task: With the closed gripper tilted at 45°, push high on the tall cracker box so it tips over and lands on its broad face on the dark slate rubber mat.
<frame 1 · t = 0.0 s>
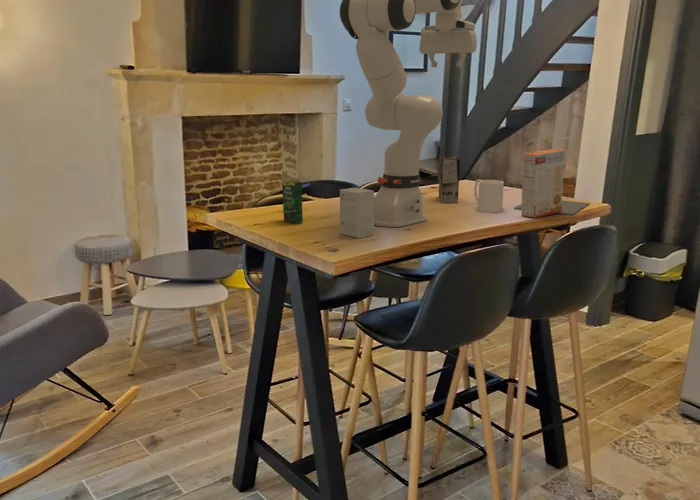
hand: (446, 67, 214), 48 cm above the table, tool pointing down, fingers open, 8 cm apart
coffee box: (448, 201, 232), on the table
coffee box 2: (292, 222, 195), on the table
cracker box: (541, 214, 206), on the table, touching slate mat
small box: (356, 235, 179), on the table
cup: (485, 210, 216), on the table
slate mat: (552, 206, 221), on the table
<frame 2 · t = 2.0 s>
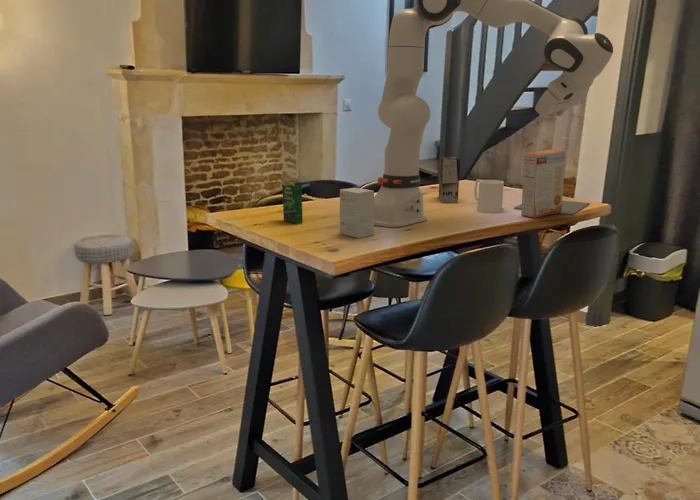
hand: (548, 117, 197), 32 cm above the table, tool tilted 40°, fingers open, 8 cm apart
nothing on the table moved.
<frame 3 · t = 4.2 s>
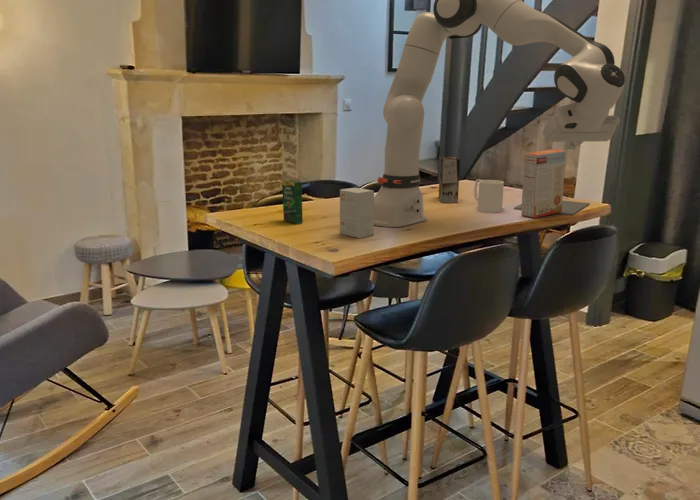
hand: (569, 147, 185), 24 cm above the table, tool tilted 45°, fingers closed
nothing on the table moved.
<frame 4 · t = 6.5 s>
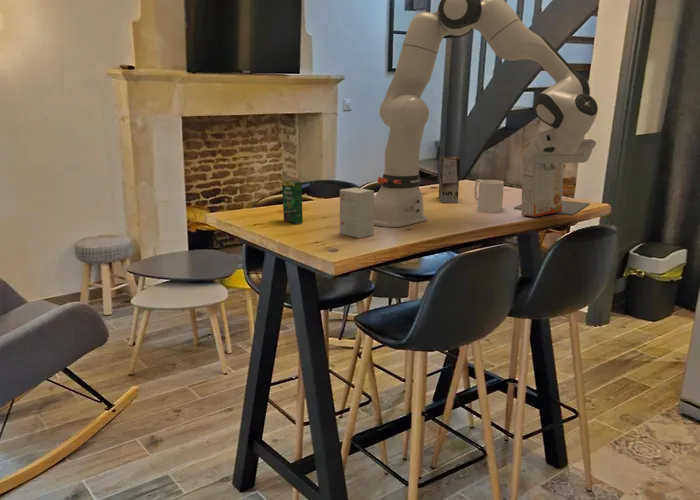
hand: (549, 168, 199), 16 cm above the table, tool tilted 45°, fingers closed
cracker box: (541, 214, 206), on the table, touching gripper, slate mat
everything else where it was.
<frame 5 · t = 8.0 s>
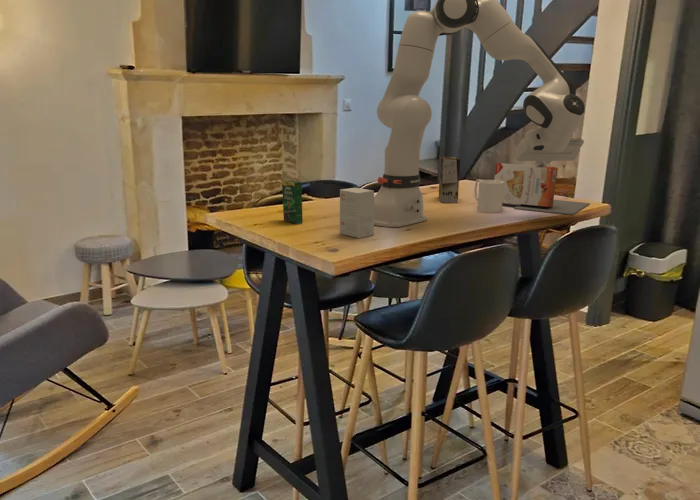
hand: (539, 165, 206), 16 cm above the table, tool tilted 45°, fingers closed
cracker box: (553, 187, 213), point 8 cm above the table, touching slate mat
everything else where it was.
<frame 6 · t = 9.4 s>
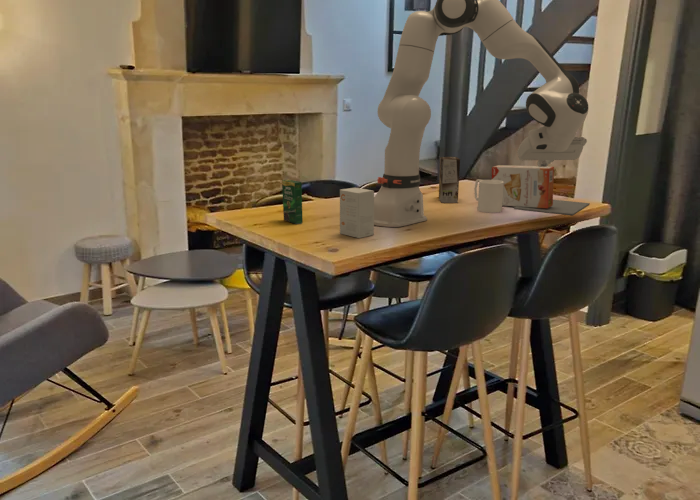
hand: (541, 165, 204), 16 cm above the table, tool tilted 45°, fingers closed
cracker box: (551, 187, 212), point 8 cm above the table, touching slate mat
everything else where it was.
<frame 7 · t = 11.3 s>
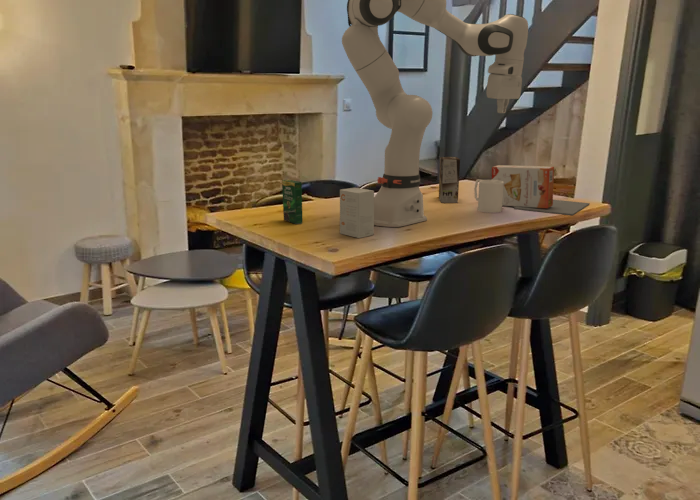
hand: (501, 112, 202), 33 cm above the table, tool pointing down, fingers closed
nothing on the table moved.
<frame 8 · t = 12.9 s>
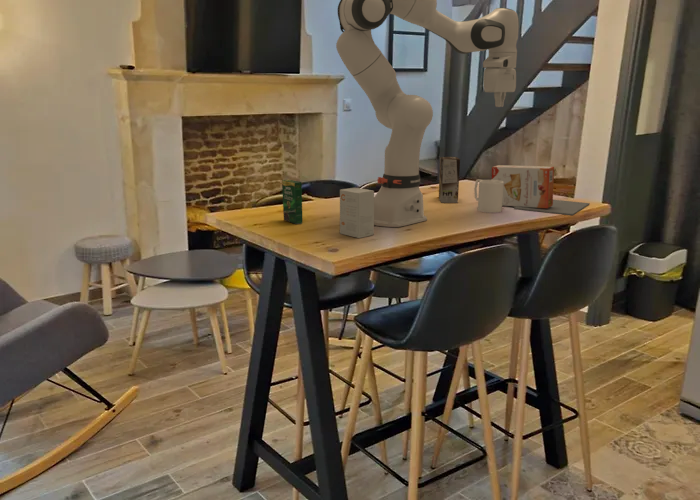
hand: (499, 106, 201), 35 cm above the table, tool pointing down, fingers closed
nothing on the table moved.
at the end: cracker box tilted 93°; cracker box touching slate mat, table; the gripper is holding nothing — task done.
